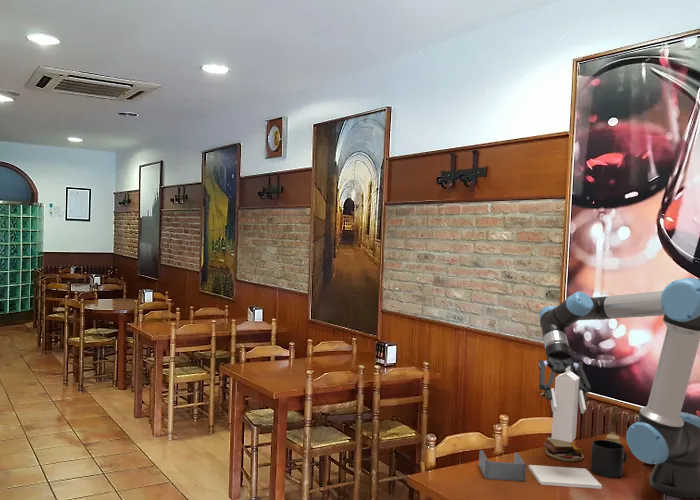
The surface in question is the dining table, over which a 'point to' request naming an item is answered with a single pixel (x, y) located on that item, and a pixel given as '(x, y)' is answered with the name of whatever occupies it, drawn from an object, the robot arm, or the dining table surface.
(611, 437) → the hand bell
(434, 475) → the dining table surface
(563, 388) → the milk
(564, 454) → the toy sandwich meal
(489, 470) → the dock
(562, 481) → the board
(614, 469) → the mug
